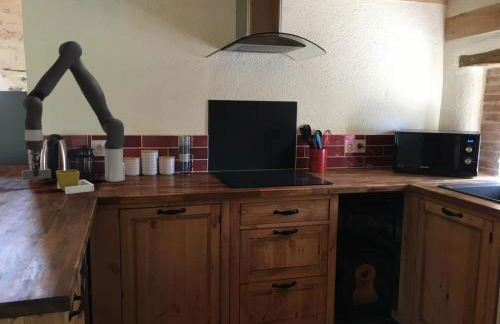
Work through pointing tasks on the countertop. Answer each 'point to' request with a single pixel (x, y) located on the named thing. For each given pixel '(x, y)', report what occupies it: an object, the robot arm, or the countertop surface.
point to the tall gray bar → (30, 175)
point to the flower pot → (67, 178)
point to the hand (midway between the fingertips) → (35, 175)
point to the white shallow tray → (79, 187)
